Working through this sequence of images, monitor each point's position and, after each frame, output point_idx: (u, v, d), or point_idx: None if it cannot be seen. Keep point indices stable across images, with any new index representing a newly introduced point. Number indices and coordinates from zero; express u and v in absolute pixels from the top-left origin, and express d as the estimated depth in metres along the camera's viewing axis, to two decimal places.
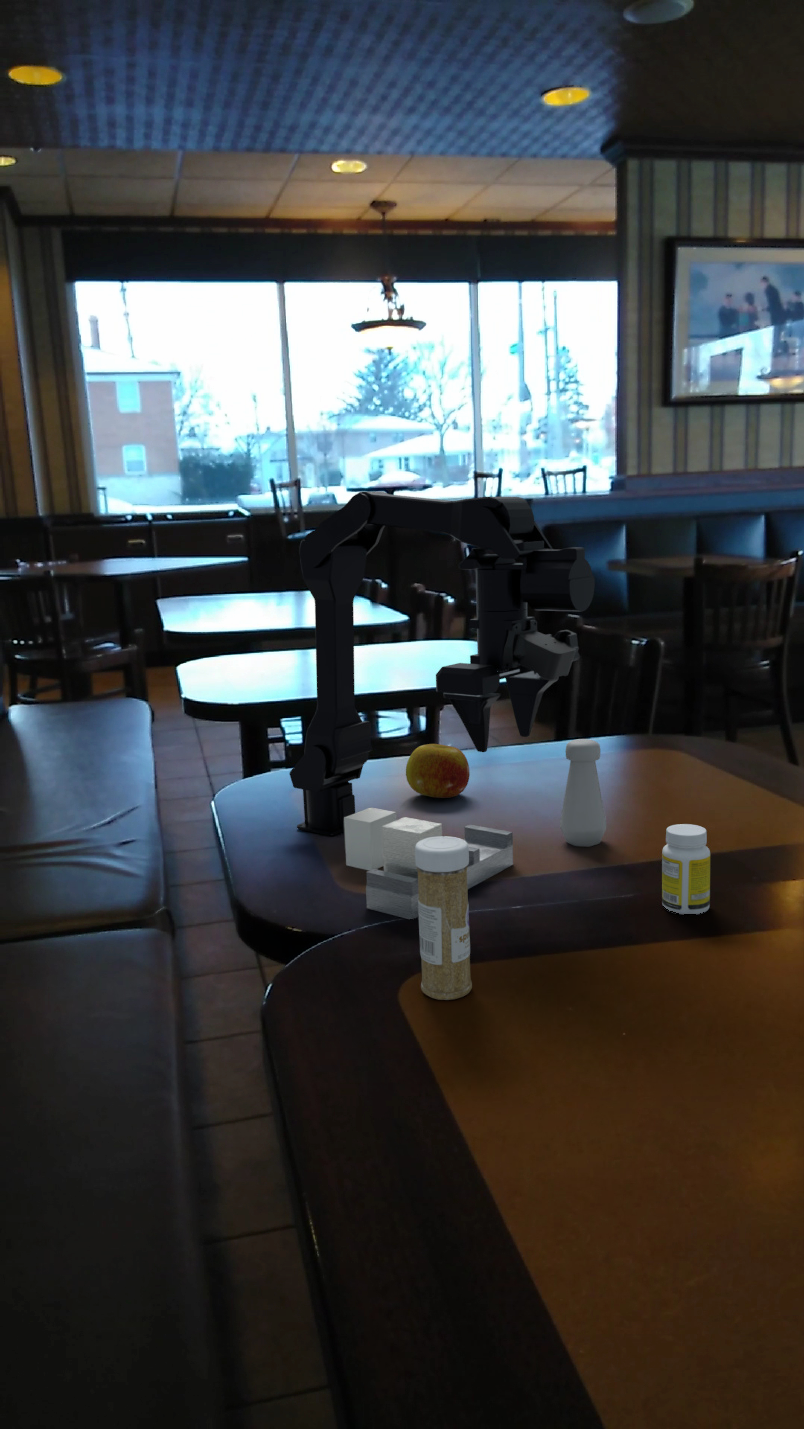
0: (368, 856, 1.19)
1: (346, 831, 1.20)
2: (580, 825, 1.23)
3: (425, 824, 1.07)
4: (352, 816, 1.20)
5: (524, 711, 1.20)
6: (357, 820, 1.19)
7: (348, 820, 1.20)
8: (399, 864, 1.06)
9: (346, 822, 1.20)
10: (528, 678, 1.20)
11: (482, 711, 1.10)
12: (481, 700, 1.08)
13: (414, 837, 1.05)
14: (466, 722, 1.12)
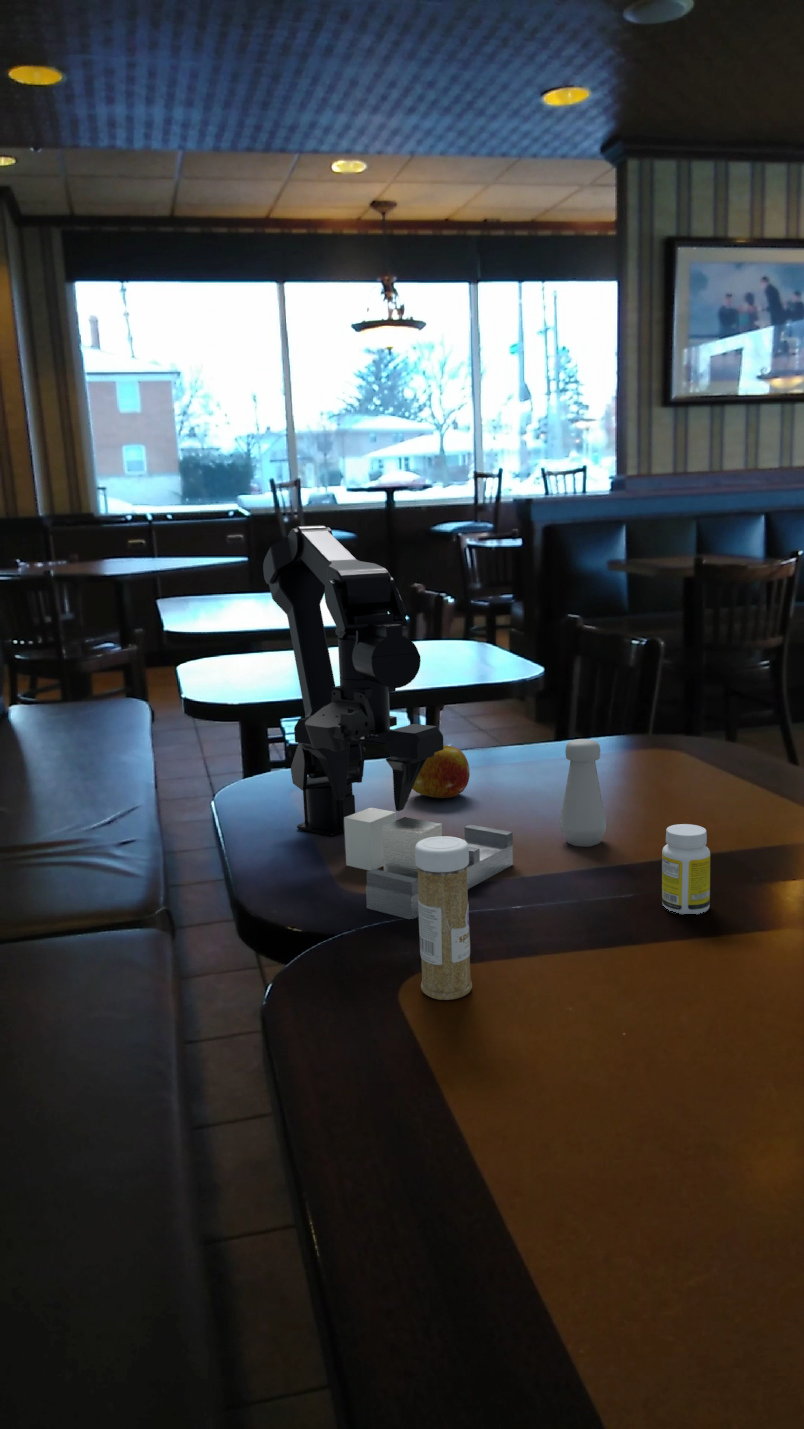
0: (368, 856, 1.19)
1: (346, 831, 1.20)
2: (580, 825, 1.23)
3: (425, 824, 1.07)
4: (352, 816, 1.20)
5: None
6: (357, 820, 1.19)
7: (348, 820, 1.20)
8: (399, 864, 1.06)
9: (346, 822, 1.20)
10: None
11: (319, 760, 1.22)
12: None
13: (414, 837, 1.05)
14: None
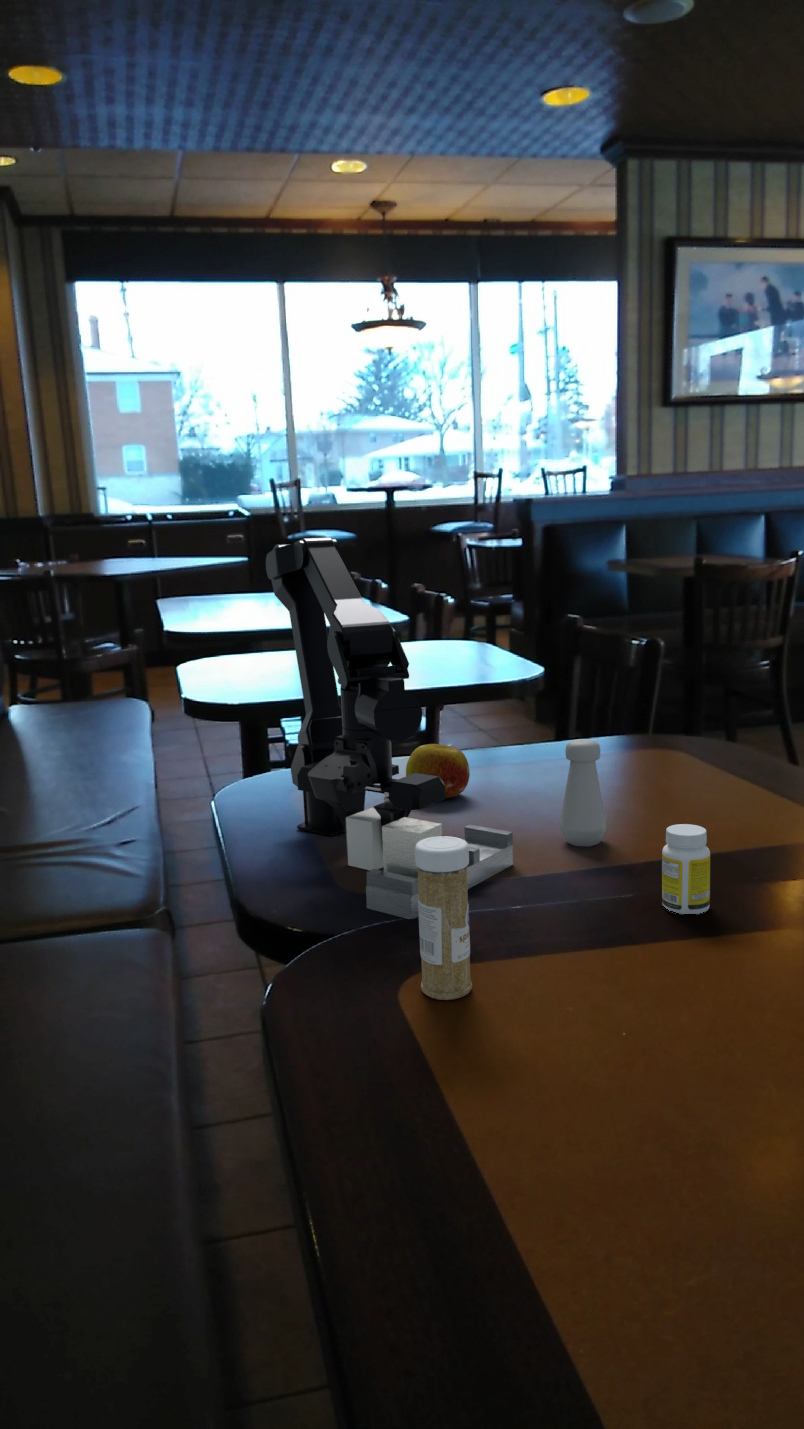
0: (370, 856, 1.18)
1: (348, 831, 1.20)
2: (580, 825, 1.23)
3: (425, 824, 1.07)
4: (354, 816, 1.20)
5: None
6: (359, 820, 1.19)
7: (350, 820, 1.19)
8: (399, 864, 1.06)
9: (348, 821, 1.20)
10: None
11: (335, 810, 1.22)
12: None
13: (414, 837, 1.05)
14: None
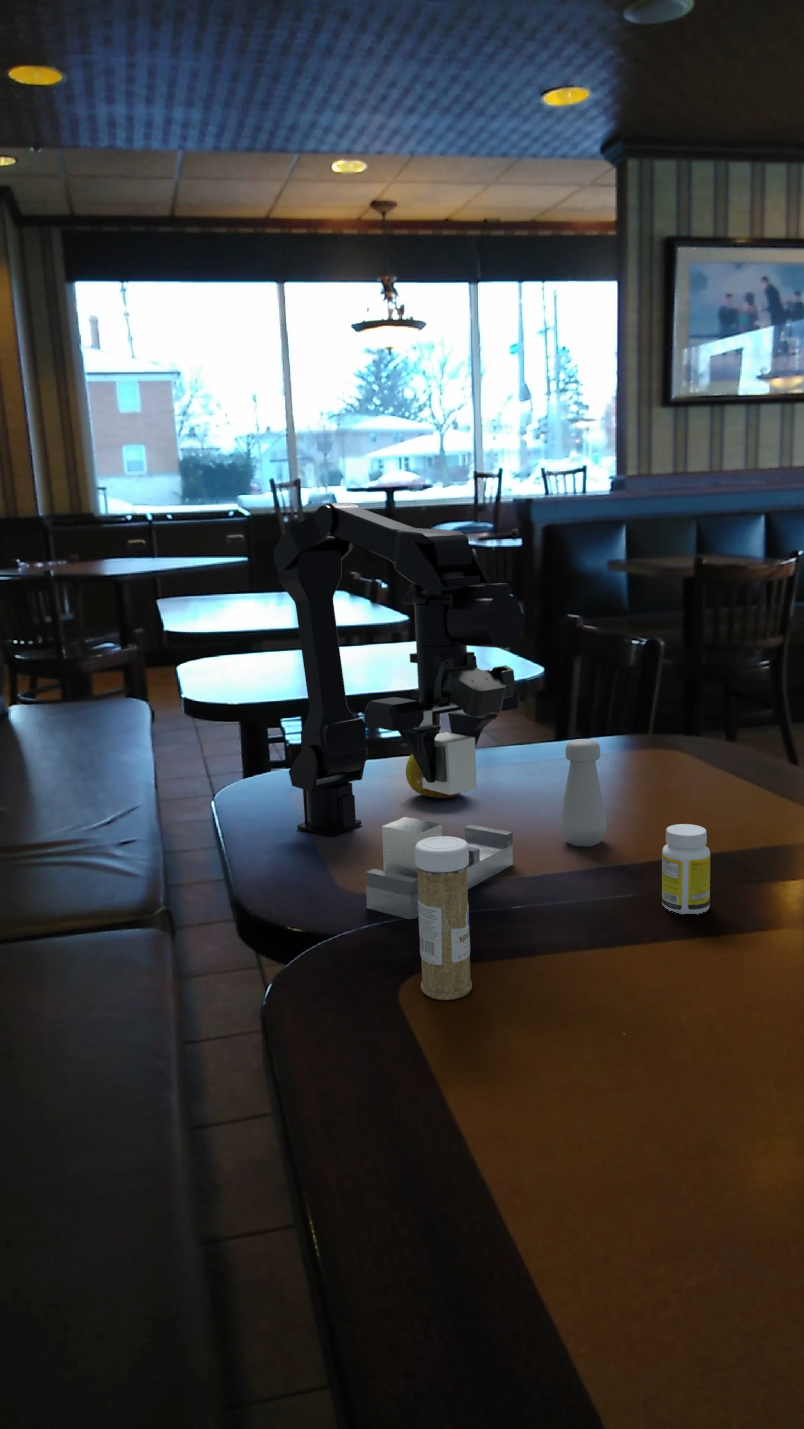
0: (473, 774, 1.15)
1: (450, 757, 1.13)
2: (580, 825, 1.23)
3: (425, 824, 1.07)
4: (447, 741, 1.13)
5: None
6: (461, 740, 1.14)
7: (452, 744, 1.13)
8: (399, 864, 1.06)
9: (450, 746, 1.13)
10: (467, 715, 1.17)
11: (423, 743, 1.12)
12: (417, 732, 1.10)
13: (414, 837, 1.05)
14: (414, 753, 1.14)
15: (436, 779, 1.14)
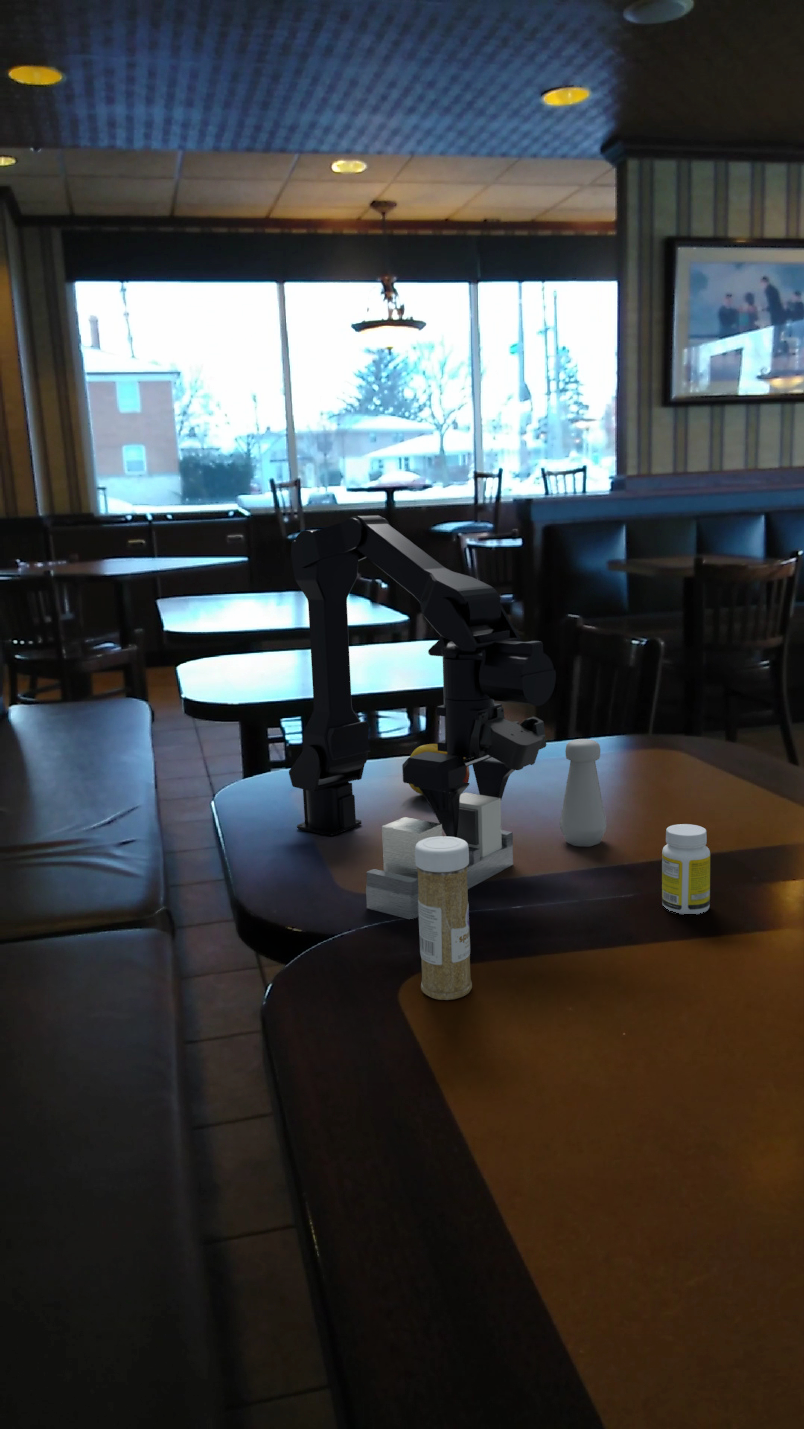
0: (499, 834, 1.17)
1: (483, 820, 1.14)
2: (580, 825, 1.23)
3: (425, 824, 1.07)
4: (478, 804, 1.14)
5: (490, 795, 1.19)
6: (490, 802, 1.15)
7: (485, 807, 1.14)
8: (399, 864, 1.06)
9: (483, 810, 1.14)
10: (494, 761, 1.19)
11: (451, 800, 1.10)
12: (450, 791, 1.08)
13: (414, 837, 1.05)
14: (436, 809, 1.13)
15: (467, 842, 1.15)
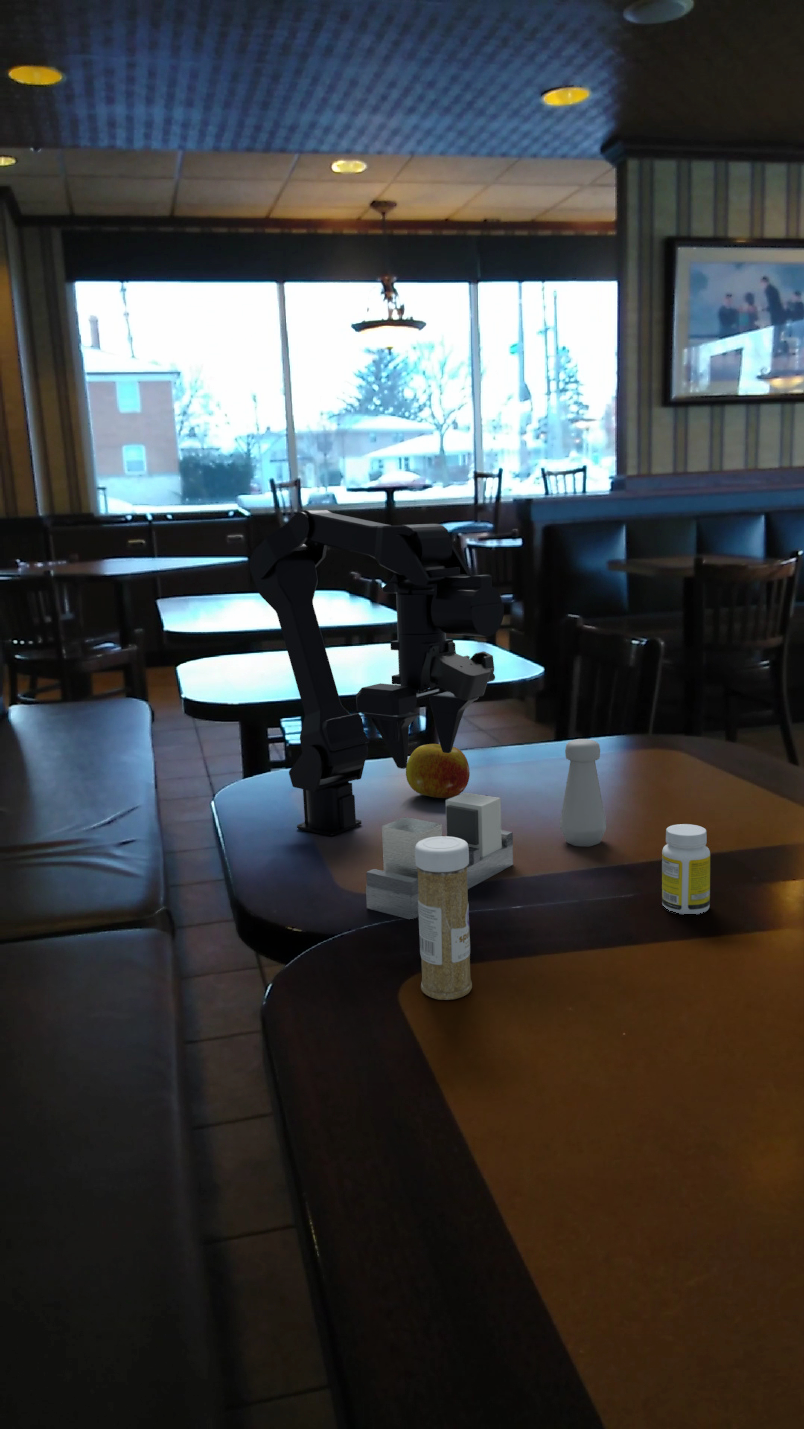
0: (499, 834, 1.17)
1: (483, 820, 1.14)
2: (580, 825, 1.23)
3: (425, 824, 1.07)
4: (478, 804, 1.14)
5: (445, 728, 1.25)
6: (490, 802, 1.15)
7: (485, 807, 1.14)
8: (399, 864, 1.06)
9: (483, 810, 1.14)
10: (450, 696, 1.25)
11: (400, 730, 1.15)
12: (398, 720, 1.13)
13: (414, 837, 1.05)
14: (386, 740, 1.17)
15: (467, 842, 1.15)
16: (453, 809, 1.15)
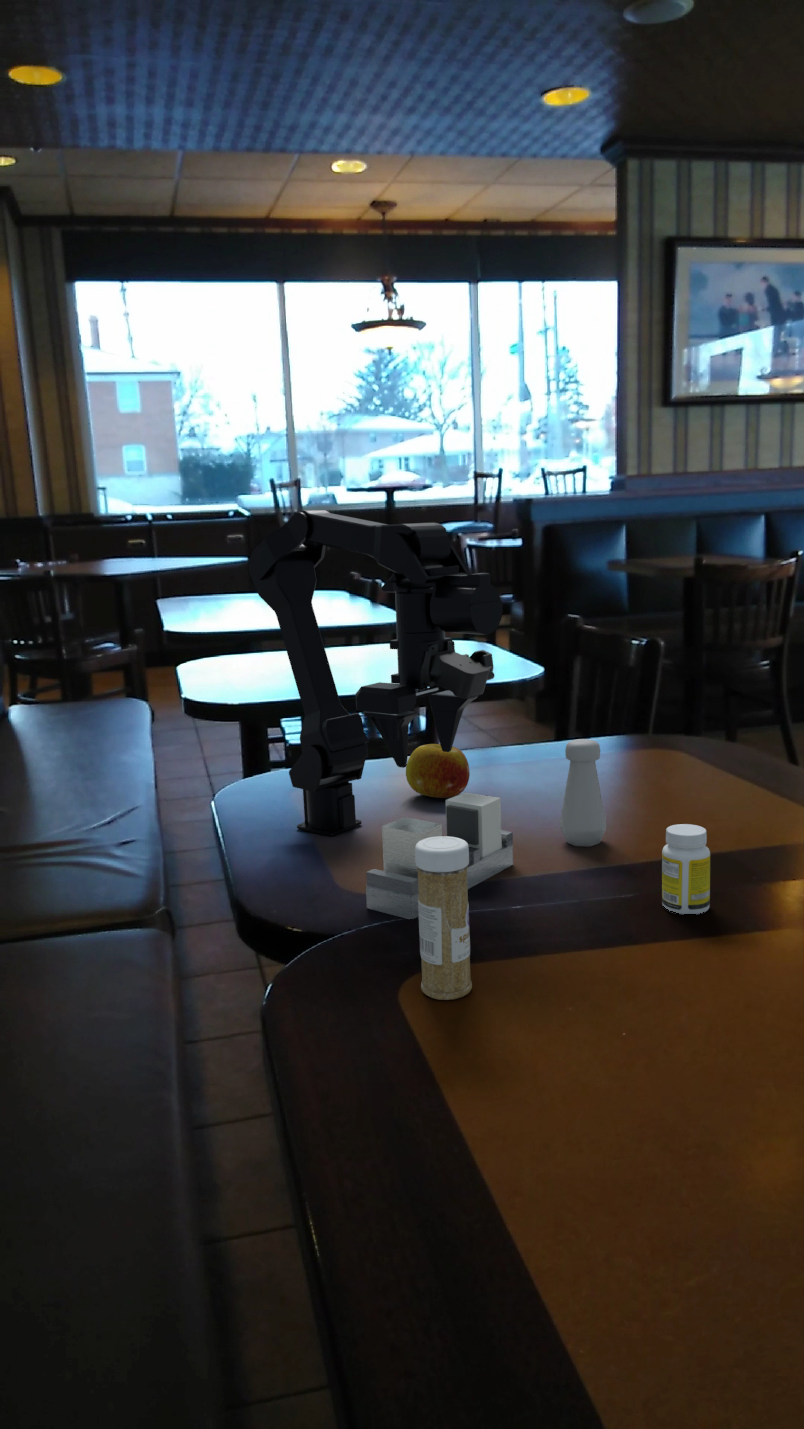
0: (499, 834, 1.17)
1: (483, 820, 1.14)
2: (580, 825, 1.23)
3: (425, 824, 1.07)
4: (478, 804, 1.14)
5: (445, 727, 1.25)
6: (490, 802, 1.15)
7: (485, 807, 1.14)
8: (399, 864, 1.06)
9: (483, 810, 1.14)
10: (449, 695, 1.25)
11: (400, 729, 1.15)
12: (398, 718, 1.13)
13: (414, 837, 1.05)
14: (386, 739, 1.17)
15: (467, 842, 1.15)
16: (453, 809, 1.15)
